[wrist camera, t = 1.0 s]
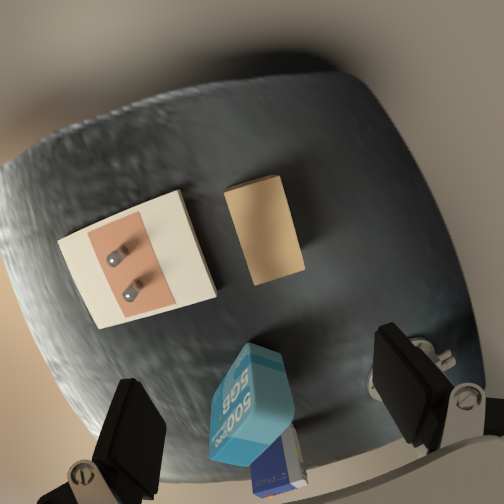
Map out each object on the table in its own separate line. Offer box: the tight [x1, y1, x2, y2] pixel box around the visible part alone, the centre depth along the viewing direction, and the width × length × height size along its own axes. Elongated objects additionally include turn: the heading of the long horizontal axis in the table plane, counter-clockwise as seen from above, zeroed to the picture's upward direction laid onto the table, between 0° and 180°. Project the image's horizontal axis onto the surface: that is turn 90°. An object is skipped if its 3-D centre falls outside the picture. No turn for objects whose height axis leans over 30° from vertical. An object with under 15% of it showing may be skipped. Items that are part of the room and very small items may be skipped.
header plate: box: [58, 189, 217, 329], centre depth 30 cm, size 16×12×2 cm
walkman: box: [250, 423, 308, 498], centre depth 35 cm, size 8×3×12 cm, turn 119°
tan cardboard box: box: [224, 174, 305, 285], centre depth 28 cm, size 5×9×5 cm, turn 17°
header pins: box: [106, 246, 143, 302], centre depth 28 cm, size 1×5×3 cm, turn 17°
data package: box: [209, 342, 295, 467], centre depth 30 cm, size 12×4×12 cm, turn 153°
